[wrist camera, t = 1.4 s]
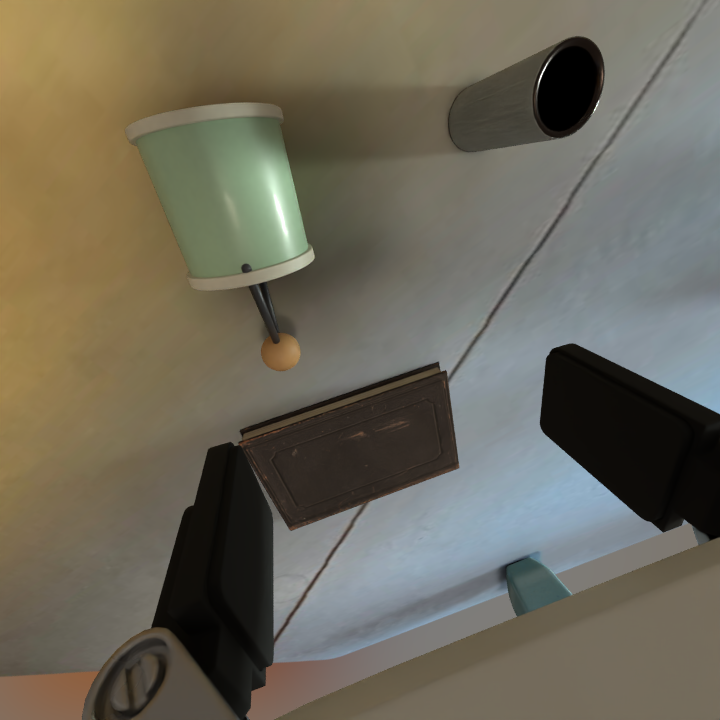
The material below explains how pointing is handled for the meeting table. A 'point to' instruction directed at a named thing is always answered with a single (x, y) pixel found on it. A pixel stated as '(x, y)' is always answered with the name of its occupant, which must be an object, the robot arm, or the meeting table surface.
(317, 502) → the hardcover book
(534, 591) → the flower pot
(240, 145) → the green hollow rimmed cylinder
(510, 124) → the grey hollow tube
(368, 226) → the meeting table surface
